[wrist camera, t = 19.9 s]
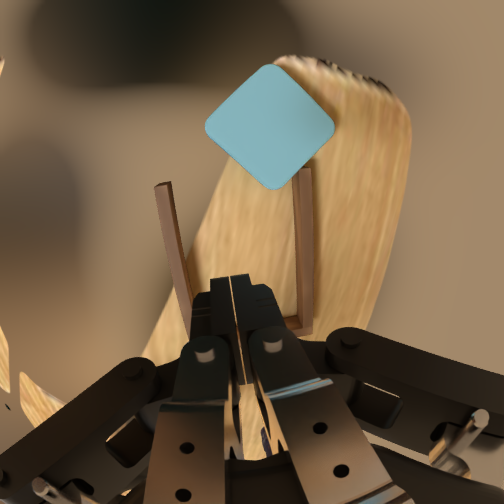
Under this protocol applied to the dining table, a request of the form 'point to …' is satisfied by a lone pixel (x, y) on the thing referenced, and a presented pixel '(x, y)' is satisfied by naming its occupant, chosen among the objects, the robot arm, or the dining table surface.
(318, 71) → the dining table surface
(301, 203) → the walnut frame
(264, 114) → the data package
